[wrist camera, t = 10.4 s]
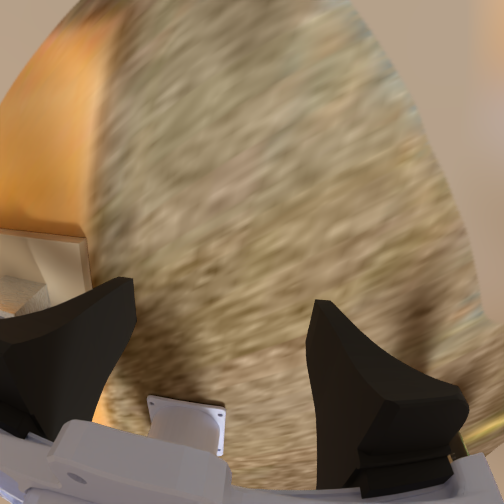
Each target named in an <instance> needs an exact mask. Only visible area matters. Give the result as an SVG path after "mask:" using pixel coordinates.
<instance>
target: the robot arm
mask: <svg viewBox="0 0 504 504" xmlns="http://www.w3.org/2000/svg"><path fill="white" fill-rule="evenodd" d="M136 322H137V318H136V308H135V298H134V286H133V278H126V277H117V278H114V279H112V280H110V281H107V282H105V283H103V284H101V285H99V286H97V287H95V288H93V289H91V290H89V291H87V292H85V293H83V294H81V295H79V296H77V297H74V298H72V299H70V300H68V301H65V302H63V303H61V304H58V305H56V306H53V307H50V308H47V309H44V310H41V311H37V312H33V313H29V314H25V315H21V316H16V317H11V318H4V319H0V496H1V497H2V498H4V499H5V500H7V501H9V502H10V503H11V504H504V502H503V499H502V497H501V494H500V491H499V489H498V486H497V484H496V482H495V479H494V477H493V474H492V472H491V469H490V467H489V465H488V463H487V460H486V458H485V456H484V454H483V453H482V452H480V453H477V454H473V455H470V456H466V457H463V458H459V459H457V460H455V461H453V462H452V463H450V462H449V459H448V457H447V456H449V455H450V454H451V448H450V446H449V442H450V441H451V440H452V439H453V437H454V436H455V435H456V434H457V432H458V431H459V430H460V428H461V427H462V426H463V424H464V423H465V421H466V419H467V417H468V414H469V405H468V403H467V401H466V399H465V398H464V396H463V394H462V392H461V390H460V389H459V387H458V386H455V385H452V384H449V383H446V382H443V381H440V380H438V379H435V378H432V377H430V376H428V375H426V374H423V373H421V372H419V371H417V370H415V369H413V368H411V367H409V366H408V365H406V364H404V363H403V362H401V361H399V360H397V359H396V358H394V357H393V356H391V355H390V354H388V353H387V352H386V351H384V350H383V349H381V348H380V347H379V346H377V345H376V344H375V343H374V342H373V341H371V340H370V339H369V338H368V337H367V336H366V335H364V334H363V333H362V332H361V331H360V330H359V329H358V328H357V327H356V326H355V325H354V324H353V323H352V322H351V321H350V320H349V319H348V318H347V317H346V316H345V315H344V314H343V313H342V312H341V311H340V310H339V309H338V308H337V307H336V305H335V304H333V303H332V302H331V301H328V300H316V299H315V303H314V307H313V312H312V316H311V320H310V325H309V329H308V333H307V338H306V361H307V368H308V373H309V379H310V384H311V389H312V395H313V400H314V406H315V413H316V429H317V486H316V490H268V489H251V488H244V487H240V486H235V485H231V478H232V472H231V470H230V468H229V466H228V464H227V462H225V461H224V460H223V459H221V458H219V457H218V456H221V455H223V446H224V431H225V417H226V409H225V408H224V407H221V406H213V405H206V404H199V403H193V402H186V401H180V400H175V399H169V398H164V397H158V396H153V395H148V397H147V404H148V409H149V414H150V419H151V423H152V424H151V427H150V430H149V433H148V436H147V437H146V436H142V435H138V434H134V433H130V432H126V431H122V430H118V429H115V428H111V427H107V426H104V425H101V424H97V423H94V422H91V421H92V418H93V415H94V412H95V409H96V406H97V403H98V401H99V398H100V395H101V393H102V390H103V388H104V385H105V383H106V381H107V379H108V377H109V376H110V374H111V372H112V370H113V368H114V367H115V365H116V363H117V361H118V360H119V358H120V356H121V354H122V352H123V351H124V349H125V347H126V345H127V344H128V342H129V340H130V337H131V335H132V332H133V330H134V327H135V324H136Z"/></svg>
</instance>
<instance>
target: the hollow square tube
mask: <svg viewBox="0 0 504 504" xmlns="http://www.w3.org/2000/svg"><path fill="white" fill-rule="evenodd" d="M50 307H51V302H50V298H49V293H48V289H47V284H44V283H39V282H34V281H29V280H25V279H20V278H16V277H11V276H7V275H4V276H3V277H2V278H0V316H2V317H4V318H11V317H16V316H21V315H25V314H29V313H33V312H37V311H41V310H44V309H47V308H50Z"/></svg>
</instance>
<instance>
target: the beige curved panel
mask: <svg viewBox="0 0 504 504" xmlns="http://www.w3.org/2000/svg"><path fill="white" fill-rule="evenodd" d="M4 275H7V276H11V277H16V278H20V279H25V280H29V281H34V282H39V283H44V284H47V289H48V293H49V298H50V302H51V307H53V306H56V305H58V304H61V303H63V302H65V301H68V300H70V299H72V298H74V297H77V296H79V295H81V294H83V293H85V292H87V291H89V290H91V289H92V282H91V275H90V267H89V259H88V249H87V239H86V238H80V237H72V236H63V235H54V234H45V233H36V232H27V231H19V230H10V229H1V228H0V278H2V277H3V276H4ZM0 319H4V317H2V316H0Z"/></svg>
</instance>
